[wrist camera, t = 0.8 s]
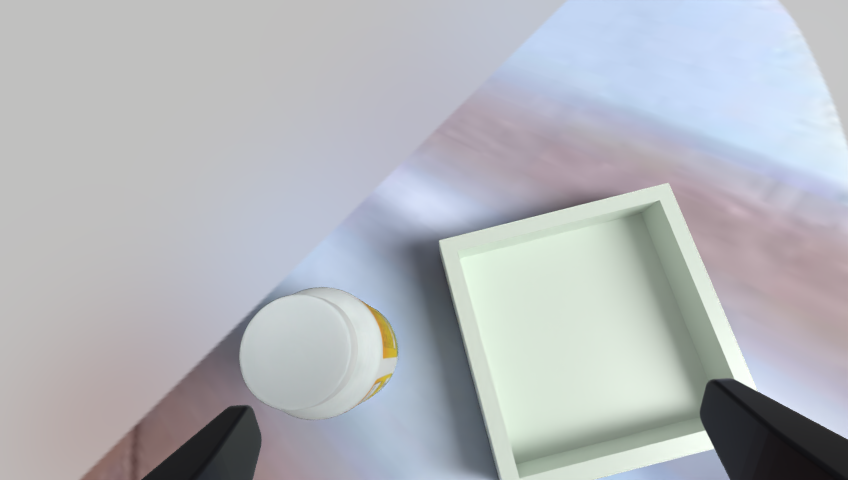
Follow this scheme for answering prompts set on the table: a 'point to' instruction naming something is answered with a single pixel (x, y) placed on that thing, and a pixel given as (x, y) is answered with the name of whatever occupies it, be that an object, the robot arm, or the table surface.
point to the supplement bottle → (317, 353)
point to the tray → (590, 336)
